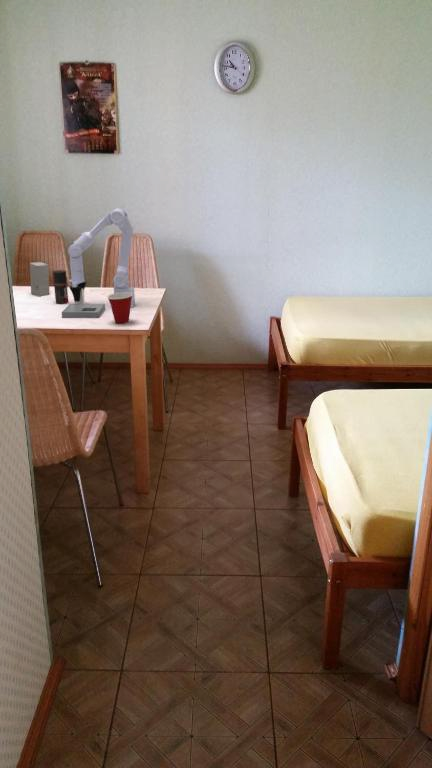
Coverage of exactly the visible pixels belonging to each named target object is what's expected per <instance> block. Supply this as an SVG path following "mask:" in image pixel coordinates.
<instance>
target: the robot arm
mask: <svg viewBox="0 0 432 768" xmlns="http://www.w3.org/2000/svg"><path fill="white" fill-rule="evenodd" d="M113 224H114V225H115V226H117V227H118V228H119V230H120V231H121V240H120V246H119V247H120V248H119V256H118V260H117V261H118V263H117V268H116V273H115V275H114V276H113V280H112V281H113V294H115V293H124V292H127V293H132V294H133V295H132V299H131V307H130V308H134V306H135V304H136V301H135V300H136V298H135V297H136V296H135V287H134V286H130V285H129V284H128V281H129V280H130V279H129V278H130V277H129V274H128V271H129V261H130V255H131V247H132V240H133V233H134V226H133V225H132V222H131V220H130V218H129V214H128V213H127V212H126V211H125V210H124V209H123V208H121V207H116V208H114V209H113V210H112V211H110V212H109V213H108V214H106V215H105V216H104V217H102V218H101V219H100V220H99V222H97V223H96V224H95V226H93V227H92V229H91V230H90V231H84V232H81V233H80V236H79V237H78V238H77V239H76V240H74V241H73V244H71V245H70V246H69V247H68V249H67V253H68V256H69V265H70V266H69V267H70V268H69V269H70V279H68V282H69V283H71V285H70V286H69V290H70V291H71V294H72V296H73V301H74V300H75V301H77V302H79V301H80V294H81V289H82V288H84V290H85V288H86V285H87V281H85V277H84V276H85V275H84V265H83V264H84V262H83V255H82V254H83V253H84V252H85V251H86V250H87V249H88V248H89V247H90V246H91V245H92V244H93V243H94V242H95V236H97V235H98V234H99V233H100V232H101V231H102V230H104V229H105V227H106V226H111V225H113Z"/></svg>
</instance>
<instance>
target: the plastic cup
mask: <svg viewBox="0 0 432 768" xmlns="http://www.w3.org/2000/svg"><path fill="white" fill-rule="evenodd" d="M132 295H133V294H132V293H127V292H124V293H115V294H114V293H112V294H109V295H107V296H106V298H107V299H108V301H109V304H110V308H111V312H112V315H113V319H114V322H115V324H119V325H120V324H127V323H129V321H130V314H131V308H132V307H131V299H132Z"/></svg>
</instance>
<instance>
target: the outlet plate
mask: <svg viewBox="0 0 432 768" xmlns="http://www.w3.org/2000/svg"><path fill="white" fill-rule="evenodd" d="M105 310H106V304H105V303H85V304H74V303H68V305H67V306H66V307H65V308H64V309H63V310H62V311H61V319H99V318H100V317H101V315H103V312H104V311H105Z"/></svg>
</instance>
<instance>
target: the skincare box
mask: <svg viewBox="0 0 432 768" xmlns="http://www.w3.org/2000/svg"><path fill="white" fill-rule="evenodd" d="M49 269H50V268H49V264H47V263H45V262H41V261H39V262H38V261H37V262H30V263H29V274H30V275H29V276H30V278H29V279H30V294H31V295H33V296H37V297H44V296H50V295H51V294H50V272H49V271H50V270H49Z"/></svg>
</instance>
